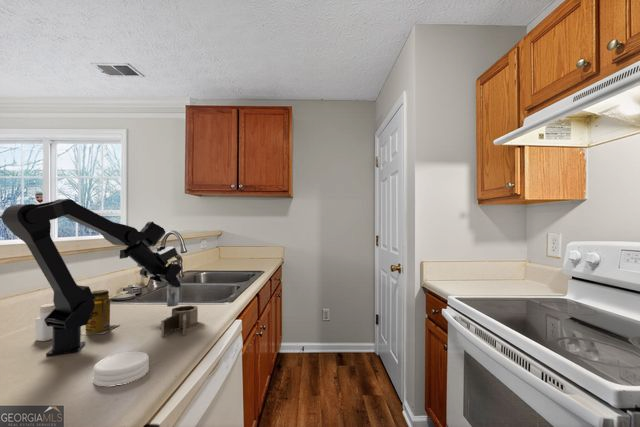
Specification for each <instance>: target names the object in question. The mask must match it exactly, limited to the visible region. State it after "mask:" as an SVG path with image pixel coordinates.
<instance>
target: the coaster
mask: <svg viewBox="0 0 640 427" xmlns="http://www.w3.org/2000/svg"><path fill="white" fill-rule="evenodd" d="M149 360H150V356H149V354H147V353H146V352H143V351H125V352H120V353H115V354H112V355H109V356H107V357H104V358H103V359H101V360H99V361H98V362H97V363H95V365H94V366H93V376H92V377H93V379H92V382H93V384H94V385H95V384H96V385H99V386H110V385H117V384H124V383H128V382H131V381H134V382H136V381H138V380H140V379H142V378H144V377H145V376H146V373H147V374H148V372H149V370H150V367H149V365H150V361H149ZM141 377H142V378H141ZM139 378H140V379H139ZM137 379H138V380H137ZM135 380H136V381H135ZM131 383H132V382H131ZM128 384H129V383H128ZM96 385H95V386H96ZM99 386H98V387H99Z"/></svg>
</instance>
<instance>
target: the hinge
mask: <svg viewBox="0 0 640 427" xmlns="http://www.w3.org/2000/svg"><path fill="white" fill-rule="evenodd" d="M198 310H199V308H198V305H189V304H188V305H181V306H179V305H178V306H177V307H176V306H175V307H174V308H172V309H171V316H169V317H167V318H165V319H163V320H161V322H160V324H161V325H160V330H161V331H160V332H161V333H160V337H161V338H165V337H166V336H168V335H170V334H172V333H173V332H175V331H177V330H178V329H182V336H183V337H184V336H185V337H186V336H187V328H192V327H194V326H197V325H198V323H199V322H198V317H199V316H198V312H199V311H198Z"/></svg>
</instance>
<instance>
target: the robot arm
mask: <svg viewBox="0 0 640 427" xmlns="http://www.w3.org/2000/svg"><path fill="white" fill-rule="evenodd" d="M0 216H1V221H2V223H3V224H4V225H5V226H6V227H7V229H9V231H10V232H11V233H12V234H13V235H14V236H16V237H17V238H19V240H21V241H22V242H24V243H25V245H26V246H27V248H28V249H29V251H30V253H31V255H32V256H33V258H34V260H35V261H36V263H37V265H38V266H39V268H40V270H41V272H42V274H43V275H44V277H45V278H46V280H47V283H48V284H49V286H50V287H51V289H52V290H53V299H52V302H53V304H54V305H55V309H54V310H53V311H52V312H51V313H50V314H49V315H48V316H47V317H46V318H45V319H44V321H45V323H46V325H47V326H51V327H53V331H52V339H51V343H52V344H51V349H50V350H48V352H46V353H45V356H46V357H47V356H54V355H63V354H70V353H76V352H77V353H78V352H79V351H80V350H81V349H82V347H83V346H84V345H85V344H86V341H81V340H82V339H81V337H82V334H81V333H82V331H81V330H82V329H81V328H82V327H83V326H86V325H87V323H88V320H89V317H90V315H91V313H92V311H93V309H94V307H95V302H94V300H93V299H96V298H95V297H94V296H93V295H92V293H91V292H92V290H91V288H90V286H87V285H80V284H79V285H78V284H77V282H76V281H75V279H74V277H73V276H72V273H71V272H70V270H69V268H68V267H67V264H66V262H65V260H64V259H63V257H62V256H61V253H60V252H59V250H58V248H57V246H56V245H55V242H54V241H53V239H52V237H51V228H52V227H51V226H52V225H51V221H52V220H56V219H59V218H61V217H65V218H66V219H68V220H70V221H73V222H75V223H78V224H79V225H82V226H84V227H85V228H88V229H90V230H92V231H95V232H96V233H99V234H100V235H101V236H102V237H103V238H104V239H105V240H106V241H107V242H109V243H110V244H112V245H114V246H118V247H119V246H123V247H124V246H126V247H125V248H123V249H120V250H119V259H121V260H122V259H127V258H128V257H129V258H130V259H131V260H133V261H134V262H135V263H136V264H137V265H136V266H137V267H138V268H141V269H140V270H139V275H140V276H141V277H142V278H144V279H148V278H149V276H150V278H149V280H151V281H155V282H158V283H161V284H165V285H167V284H170V285H173V286H176V287H179V288H180V287H181V282H180V279H179V280H178V278H177V276H178V274H179V273H180V272H181V271H182V269H183V267H182V266H181V265H180V264H179V263H174V262H173V263H169V261H170V260H171V259H173V258H174V257H175V258H176V257H177V256H179V253H178V251H177V248H176V247H175V246H172V245H170V246H163V245H161V246H158V247H157V248H156V252H154V251H153V250H152V249H151V248H150V247H155V246H156V245H157V244H158V243H159V242H160V241H161V239H162V238H163V237H164V236H165V235H166V230H165V229H164V227H162V226H161V225H158V224H156V223H155V222H154V221H147V222H146V224H145V225H144V226H143V228H142V229H140V230H138V229H137V228H135V227H133V226H129V225H127V224H123V223H119V222H118V223H117V222H114V221H113V220H112V221H111V220H110V219H108V218H106V217H104V216H102V215H100V214H98V213H96V212H94V211H92V210H90V209H88V208H86V207H85V206H83V205H81V204H79V203H77V202H76V201H75V200H73V199H70V198H61V199H60V198H59V199H55V200H53V201H49V202H42V203H37V204H36V203H25V204H22V203H21V204H12V205H10V206H8V207H6V208H5V209H4V210H3V212H2V213H1V215H0Z"/></svg>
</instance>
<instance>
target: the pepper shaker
mask: <svg viewBox="0 0 640 427" xmlns="http://www.w3.org/2000/svg"><path fill="white" fill-rule="evenodd" d="M39 306H40V307H39V314H40V316H39V317H37V318H36V319H35V335H34V338H35V341H39V342H47V341H49V340H52V331H53V327H51V326H47V325H46V323H45V321H44V319H45V318H46V317H47V316H48V315H49V314H50V313H51V312H52V311H53V310H54V309H55V305H54V303H49V304H48V303H47V304H42V305H39Z"/></svg>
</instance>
